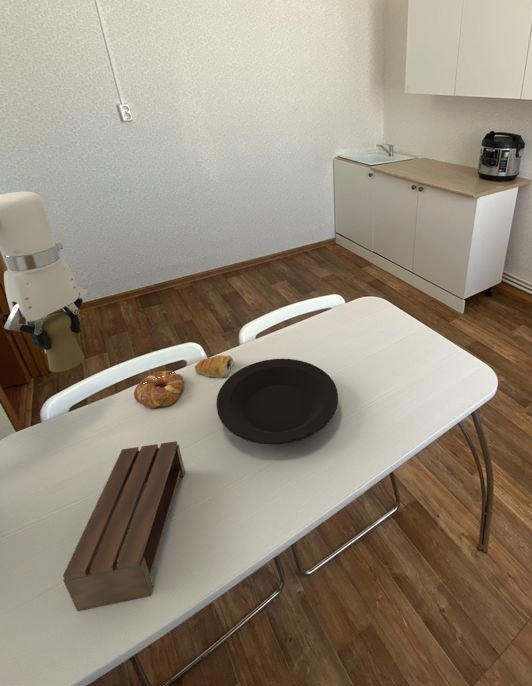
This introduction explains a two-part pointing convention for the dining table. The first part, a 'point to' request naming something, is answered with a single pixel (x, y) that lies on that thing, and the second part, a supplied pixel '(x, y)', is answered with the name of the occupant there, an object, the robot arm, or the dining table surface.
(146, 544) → the rack
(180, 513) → the dining table surface
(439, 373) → the dining table surface
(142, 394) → the ring bread
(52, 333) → the olive green shaker
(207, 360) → the pastry
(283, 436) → the plate
